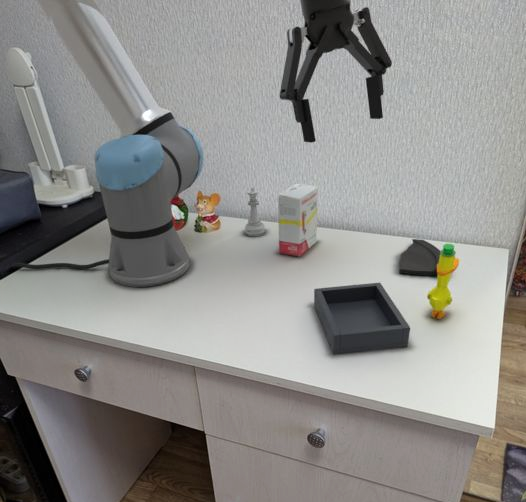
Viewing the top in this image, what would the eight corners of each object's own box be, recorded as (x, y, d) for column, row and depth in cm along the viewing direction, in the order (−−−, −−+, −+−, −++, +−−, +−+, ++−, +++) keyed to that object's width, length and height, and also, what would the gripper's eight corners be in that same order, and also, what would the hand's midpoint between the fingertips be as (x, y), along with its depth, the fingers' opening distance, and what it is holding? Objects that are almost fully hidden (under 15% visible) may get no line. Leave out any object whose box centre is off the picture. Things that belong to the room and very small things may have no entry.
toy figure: (435, 302, 81) (448, 233, 74) (457, 308, 79) (472, 238, 72) (419, 320, 77) (430, 249, 70) (441, 327, 75) (455, 254, 68)
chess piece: (248, 228, 112) (245, 183, 106) (267, 229, 110) (265, 184, 105) (242, 235, 108) (239, 190, 102) (261, 237, 107) (259, 191, 101)
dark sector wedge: (445, 248, 98) (446, 240, 97) (445, 278, 88) (446, 270, 87) (402, 244, 100) (403, 237, 99) (397, 274, 90) (398, 266, 89)
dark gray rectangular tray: (333, 354, 71) (333, 335, 69) (313, 306, 82) (314, 288, 80) (407, 346, 71) (410, 327, 69) (378, 299, 83) (380, 282, 81)
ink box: (299, 257, 98) (299, 198, 91) (278, 253, 100) (276, 195, 93) (317, 241, 104) (319, 185, 97) (296, 238, 106) (296, 182, 99)
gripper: (258, -6, 68) (290, 153, 79) (406, -44, 74) (416, 108, 85) (238, 4, 74) (271, 150, 85) (376, -32, 80) (389, 109, 91)
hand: (343, 129), depth 85 cm, fingers open, 13 cm apart
